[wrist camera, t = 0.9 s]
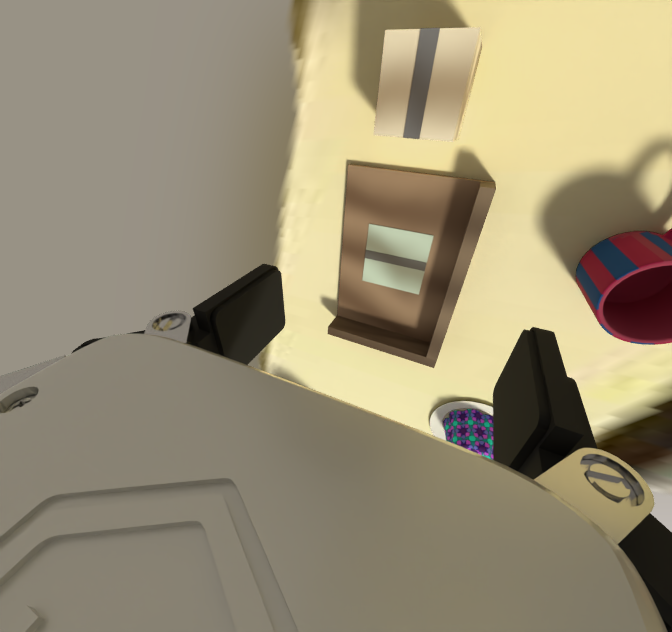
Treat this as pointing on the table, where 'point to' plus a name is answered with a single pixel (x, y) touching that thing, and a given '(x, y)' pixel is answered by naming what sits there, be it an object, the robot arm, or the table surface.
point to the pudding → (465, 426)
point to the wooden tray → (406, 257)
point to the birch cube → (426, 82)
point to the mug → (630, 286)
